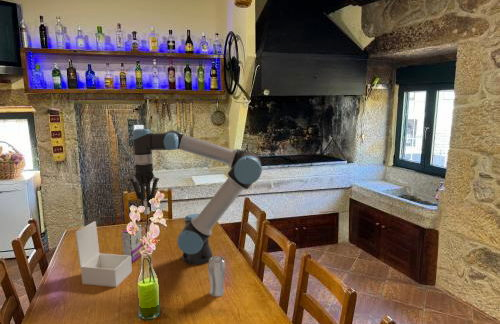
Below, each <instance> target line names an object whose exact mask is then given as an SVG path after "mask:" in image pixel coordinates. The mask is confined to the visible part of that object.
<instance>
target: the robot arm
mask: <svg viewBox="0 0 500 324" xmlns="http://www.w3.org/2000/svg"><path fill="white" fill-rule="evenodd" d="M132 145H133V157H134V163H135V164H134V172H135V174H134V176H133V177H131V178H130V179H129V181H130V183H131V184H132V187H133V189H134V193H135V196H136V199H137V200H139V201H141V207H142V206H144V207H145V208H146V209H145V212H144V211H143V213H144V215H149V214H150V212H151V211H150V210H151V209H150V207H151V206H152V203H151V204H150V203H149V202H148V201H149V200H150V199H151V200H153V199H155V196H156V191H157V188H158V183H159V180H160V178H159V177H157V176H155V175H154V171H153V170H154V169H153V167H154V166H153V156H152V153H153V152H152V151H174V150H181V151H184V152H187V153H190V154H193V155H196V156H199V157H202V158H206V159H209V160H212V161H215V162H219V163H222V164H225V165H228V166H229V168H230V170H229V171H228V172H227V179H226V180H225V182H223V184H222V185H221V186H220V188H219V189H218V190H217V192H216V193H215V194H214V195H213V197H212V198H211V199H210V200H209V202H208V203H207V204H206V205H205V207H204V208H203V209H202V210H201V212H200V213H190V214H187V215H186V216H185V217H184V226H183V228H182V230H181V231H180V233H179V234H178V237H177V242H176V243H177V246H178V248H179V250H180V251H182V262H183V263H185V264H187V265H192V266H197V265H198V266H199V265H200V266H201V265H204V264H207V263H209V258H211V257H213V252H212V249H211V247H210V246H211V245H210V243H209V241H210V240H209V238H210V236H211V235H212V234H213V231H212V230H213V228H214V226H215V225H217V223H218V222H219V220H220V219H221V218H222V217H223V216H224V214H225V212H226V211H227V210H228V209H229V207H230V206H231V205H232V204H233V203H234V202H235V201H236V199H237V198H238V197H239V196H240V194H242V192H243V191H245V190H246V191H247V190H248V189H250V187H251V186H252V185H253V184H254V183H256V182H257V181H258V180H259V179H260V177H261V176H262V172H263V171H262V170H263V169H262V167H263V166H262V161H261V158H260V157H259V156H258V155H257V154H256V153H254V152H250V151H246V150H242V149H238V148H235V149H232V148H228V147H225V146H222V145H218V144H215V143H212V142H210V141H209V142H208V141H205V140H203V139H199V138H196V137H193V136H191V135H187V134H184V133H180V131H179V132H178V130H175V129H174V130H173V129H171V130H167V131H165V132H162V133H161V132H157V133H156V132H155V133H154V132H153V133H152V132H151V130H150V128H137V129H133V131H132ZM151 182H152V187H151ZM138 183H139V184H138ZM152 198H153V199H152ZM144 207H143V208H144Z"/></svg>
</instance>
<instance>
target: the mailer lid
mask: <svg viewBox="0 0 500 324" xmlns="http://www.w3.org/2000/svg"><path fill="white" fill-rule="evenodd" d="M74 233H75V241H76V249H77V255H78V256H77V257H78V264H79V267H80V268H81V266H83V265H84V264H86V263H87V262H88V261H90V260H91V259H92V258H94V257H95V256H96V255H98V254H99V253H100V245H99V240H98V239H99V237H98V227H97V222H96V221H95V220H94V221H92V222H91V223H89V224H86V225H85V226H82V227H81V228H80V229H78V230H76V231H74Z"/></svg>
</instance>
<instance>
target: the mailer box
mask: <svg viewBox="0 0 500 324" xmlns="http://www.w3.org/2000/svg"><path fill="white" fill-rule="evenodd" d="M80 271H81V273H80V274H81V283H82V285H90V286H100V287H102V286H103V287H108V288H109V287H111V288H117V287H118V286H119V285H120V284H121V283H122V282H123V281H124V280H125V279H127V277H128V276H129V275H130V274H131V273H132V272H133V267H132V263H131V256H127V255H124V254H113V253H101V252H99V254H98V255H96V256H95V257H93V258H92V259H91V260H89V261H88V262H87V263H85V264H84V265H82V266H81V267H80Z"/></svg>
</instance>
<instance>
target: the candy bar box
mask: <svg viewBox="0 0 500 324" xmlns="http://www.w3.org/2000/svg"><path fill="white" fill-rule="evenodd" d="M137 225H138V227H139V231H138V232H137V233H136V236H133V235H130V234H129V233H128V232H127V230H126V229H124V230H123V231H122V232H121V239H122V251H123V254H122V255H127V256H131V263H132V264H134V263H135V262H136V261H137V260H138V259H139V258H140V257H142V256H141V255H140V253H139V249H140V248H141V247H142V246H143V242H142V243H141V242H140V238H142V239H143V233H142V224H137Z"/></svg>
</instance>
